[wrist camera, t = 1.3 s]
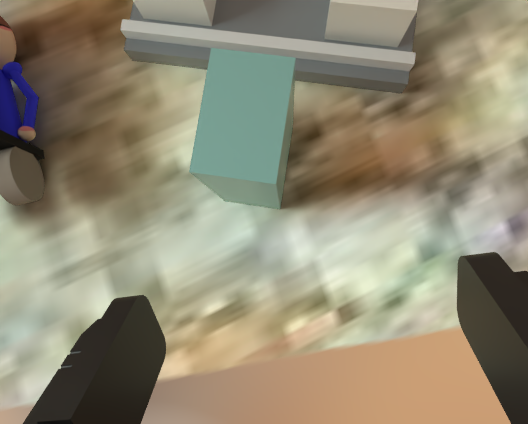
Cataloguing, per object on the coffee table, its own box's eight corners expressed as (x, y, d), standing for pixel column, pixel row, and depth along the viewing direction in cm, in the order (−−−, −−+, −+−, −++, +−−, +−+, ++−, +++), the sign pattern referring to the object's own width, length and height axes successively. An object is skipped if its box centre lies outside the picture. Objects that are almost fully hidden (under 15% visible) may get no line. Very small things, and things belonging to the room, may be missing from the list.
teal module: (224, 201, 27) (189, 171, 18) (238, 118, 28) (211, 44, 18) (280, 209, 27) (276, 184, 17) (293, 125, 28) (295, 54, 18)
